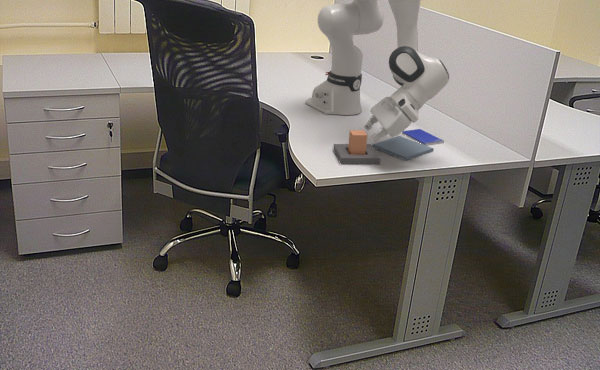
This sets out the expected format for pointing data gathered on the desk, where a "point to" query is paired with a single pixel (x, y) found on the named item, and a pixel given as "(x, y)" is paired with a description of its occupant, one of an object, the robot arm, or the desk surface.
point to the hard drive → (423, 137)
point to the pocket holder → (347, 158)
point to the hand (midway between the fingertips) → (369, 133)
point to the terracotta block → (357, 142)
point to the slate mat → (402, 147)
